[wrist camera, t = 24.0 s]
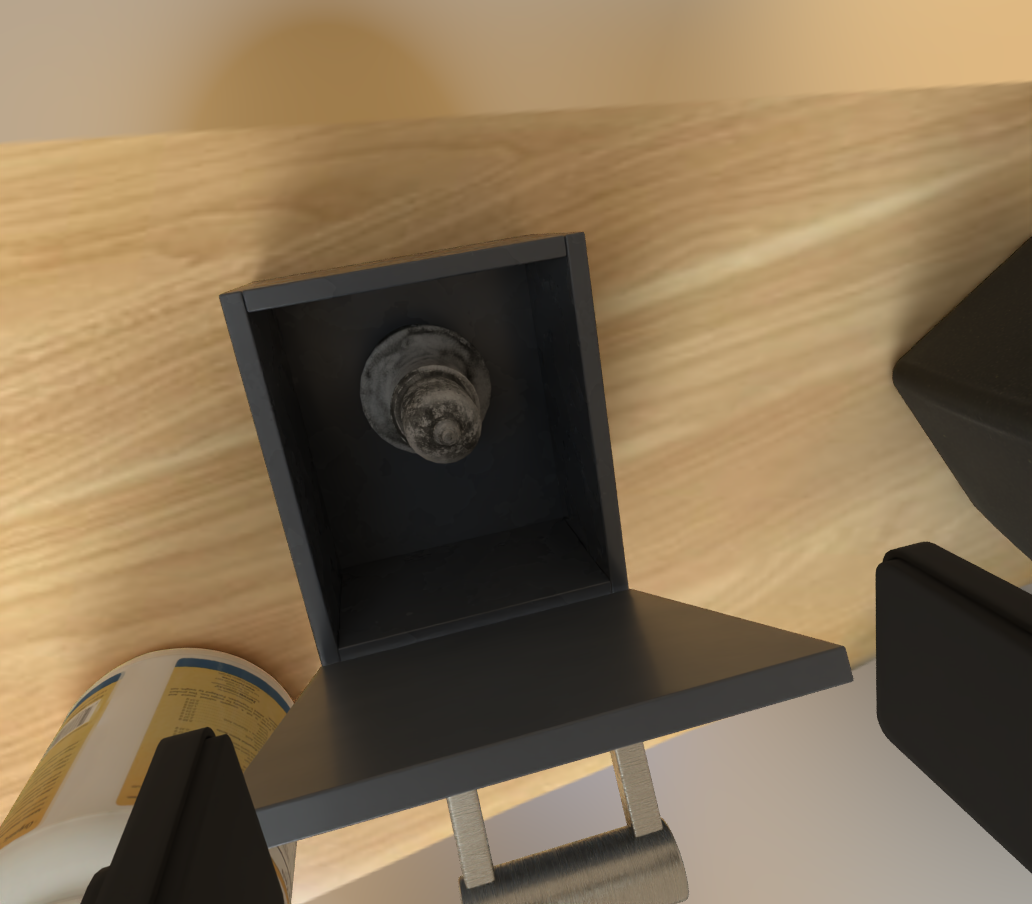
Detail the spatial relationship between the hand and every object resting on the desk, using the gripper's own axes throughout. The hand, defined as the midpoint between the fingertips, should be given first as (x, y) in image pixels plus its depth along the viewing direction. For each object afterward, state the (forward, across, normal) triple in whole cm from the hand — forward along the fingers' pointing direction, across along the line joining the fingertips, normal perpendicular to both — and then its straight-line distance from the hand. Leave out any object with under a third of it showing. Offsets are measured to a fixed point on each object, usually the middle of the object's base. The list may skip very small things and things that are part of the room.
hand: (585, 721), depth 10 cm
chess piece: (+28, 0, 0) cm, 28 cm away
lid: (+12, 0, +6) cm, 13 cm away
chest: (+28, 0, +2) cm, 28 cm away
